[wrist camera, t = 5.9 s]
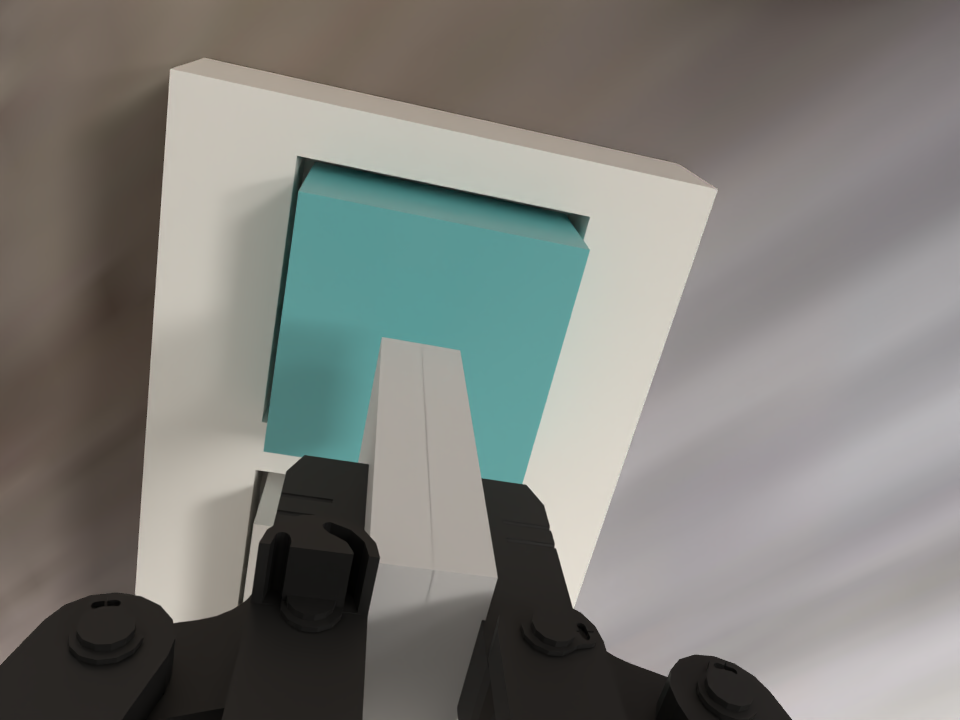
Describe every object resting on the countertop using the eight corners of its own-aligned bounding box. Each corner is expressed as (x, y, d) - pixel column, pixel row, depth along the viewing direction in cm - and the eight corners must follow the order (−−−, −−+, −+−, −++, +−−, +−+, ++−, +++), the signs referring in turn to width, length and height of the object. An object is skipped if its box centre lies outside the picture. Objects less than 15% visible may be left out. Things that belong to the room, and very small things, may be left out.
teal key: (564, 213, 19) (590, 250, 17) (506, 427, 22) (520, 490, 19) (315, 161, 18) (298, 191, 16) (282, 391, 21) (263, 451, 18)
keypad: (678, 163, 21) (717, 189, 18) (470, 810, 31) (476, 890, 28) (204, 57, 19) (170, 68, 16) (144, 783, 29) (116, 866, 26)
